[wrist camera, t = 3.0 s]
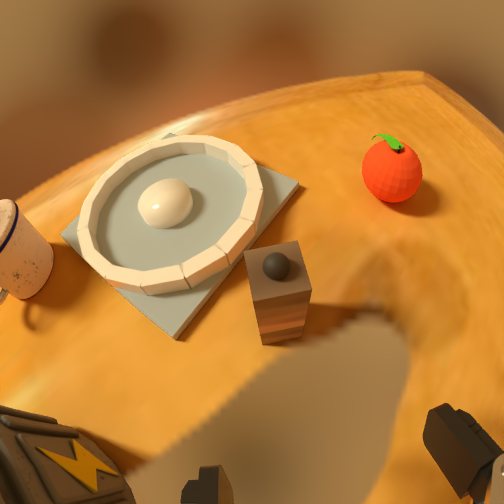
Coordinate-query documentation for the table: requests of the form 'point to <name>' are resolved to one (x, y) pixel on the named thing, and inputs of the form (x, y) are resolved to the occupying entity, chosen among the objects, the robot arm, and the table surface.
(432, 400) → the table surface
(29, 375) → the table surface
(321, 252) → the table surface
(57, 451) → the decorative lamp
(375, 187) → the clementine
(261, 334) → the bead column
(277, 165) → the table surface
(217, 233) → the groove dish
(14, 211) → the teacup with lid
